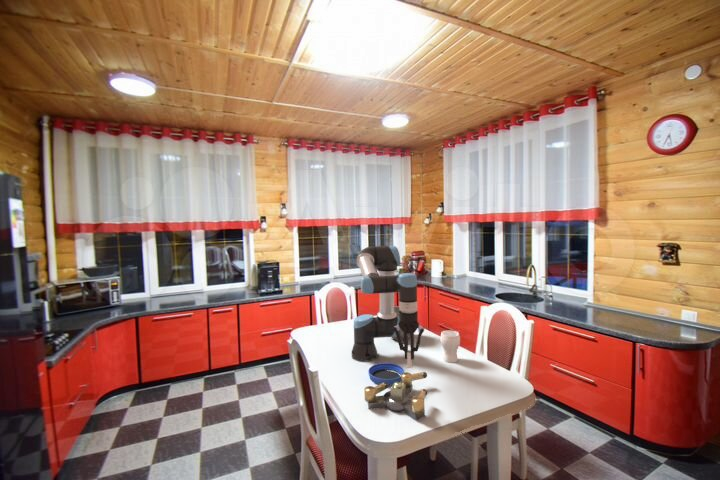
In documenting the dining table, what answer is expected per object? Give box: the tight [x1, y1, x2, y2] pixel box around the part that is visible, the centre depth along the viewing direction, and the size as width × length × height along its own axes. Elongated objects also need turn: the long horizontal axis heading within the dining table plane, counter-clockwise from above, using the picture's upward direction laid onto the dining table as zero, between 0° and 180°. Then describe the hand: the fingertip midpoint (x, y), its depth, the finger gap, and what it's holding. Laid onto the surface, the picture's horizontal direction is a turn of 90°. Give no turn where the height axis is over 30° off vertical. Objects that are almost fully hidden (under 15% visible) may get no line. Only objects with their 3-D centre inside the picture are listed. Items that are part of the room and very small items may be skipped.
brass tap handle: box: [400, 371, 428, 387], centre depth 147 cm, size 13×5×4 cm, turn 109°
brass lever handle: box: [412, 388, 428, 414], centre depth 128 cm, size 13×5×4 cm, turn 154°
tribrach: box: [367, 382, 426, 421], centre depth 136 cm, size 25×22×9 cm
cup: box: [439, 330, 461, 364], centre depth 176 cm, size 11×11×15 cm
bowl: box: [368, 362, 405, 386], centre depth 158 cm, size 18×18×4 cm
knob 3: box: [364, 382, 389, 403], centre depth 136 cm, size 13×5×4 cm, turn 133°
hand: (409, 366), depth 132 cm, fingers closed
